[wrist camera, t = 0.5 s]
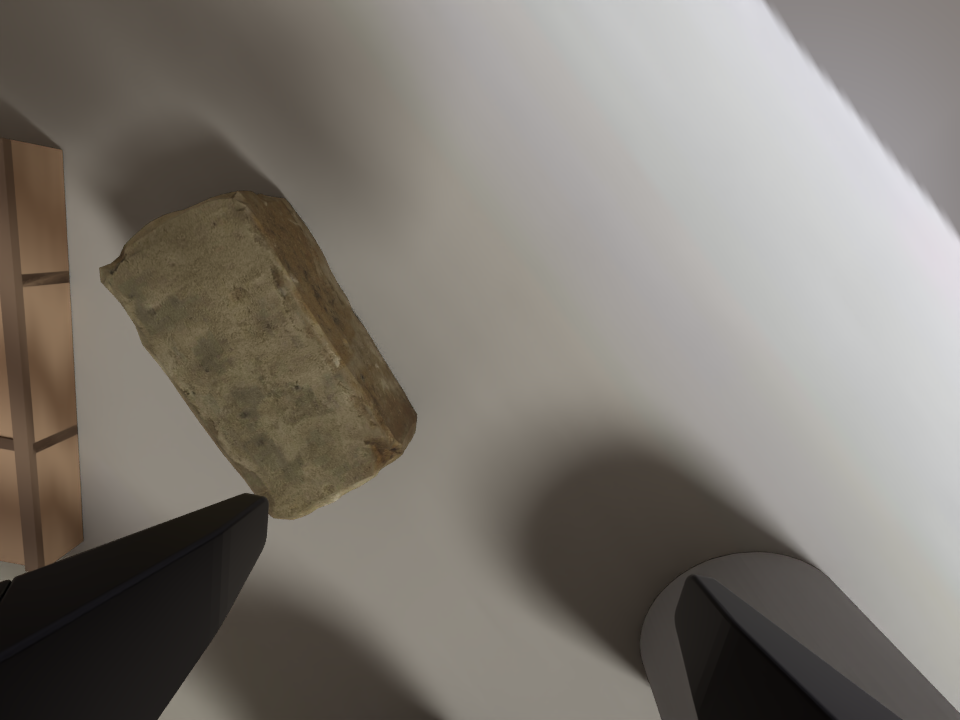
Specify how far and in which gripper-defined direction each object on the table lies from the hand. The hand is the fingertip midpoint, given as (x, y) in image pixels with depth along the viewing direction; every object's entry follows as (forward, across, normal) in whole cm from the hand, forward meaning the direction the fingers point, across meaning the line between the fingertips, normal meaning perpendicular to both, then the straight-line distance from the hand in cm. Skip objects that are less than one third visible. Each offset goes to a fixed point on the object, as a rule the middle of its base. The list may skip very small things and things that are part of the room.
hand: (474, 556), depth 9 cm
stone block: (+12, +8, 0) cm, 15 cm away
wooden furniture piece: (+12, +21, +3) cm, 24 cm away
